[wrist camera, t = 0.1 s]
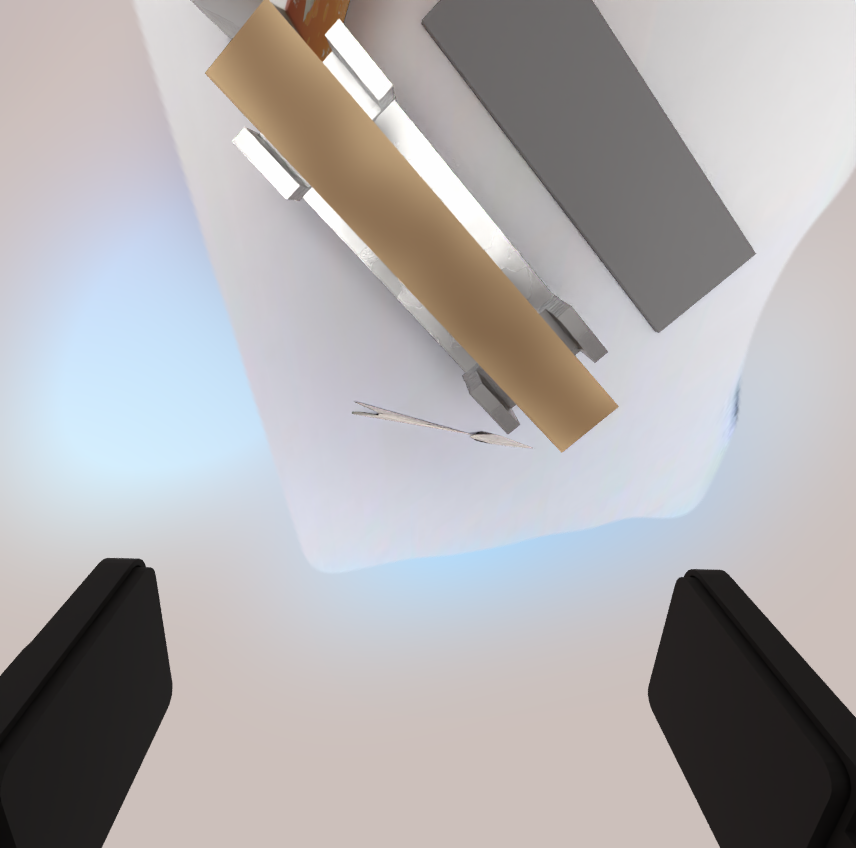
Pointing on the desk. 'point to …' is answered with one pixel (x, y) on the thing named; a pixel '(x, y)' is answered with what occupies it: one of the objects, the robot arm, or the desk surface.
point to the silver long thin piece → (438, 426)
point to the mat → (596, 144)
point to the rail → (404, 223)
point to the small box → (298, 3)
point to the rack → (382, 108)
